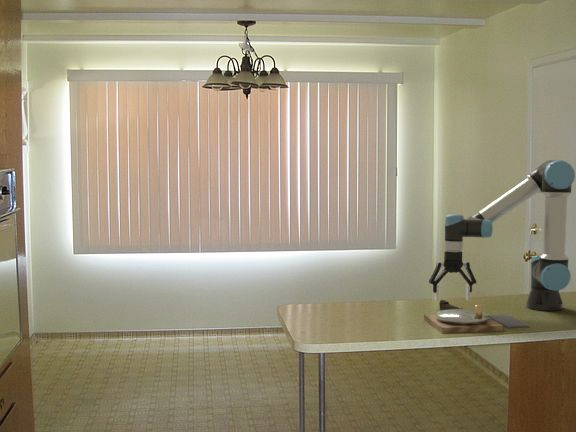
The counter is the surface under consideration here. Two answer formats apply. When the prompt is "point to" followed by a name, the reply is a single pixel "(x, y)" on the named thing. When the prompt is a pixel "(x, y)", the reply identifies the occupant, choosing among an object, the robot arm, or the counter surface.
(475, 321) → the dial
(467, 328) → the board
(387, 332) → the counter surface
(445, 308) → the hand tool
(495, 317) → the mat
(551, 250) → the robot arm
